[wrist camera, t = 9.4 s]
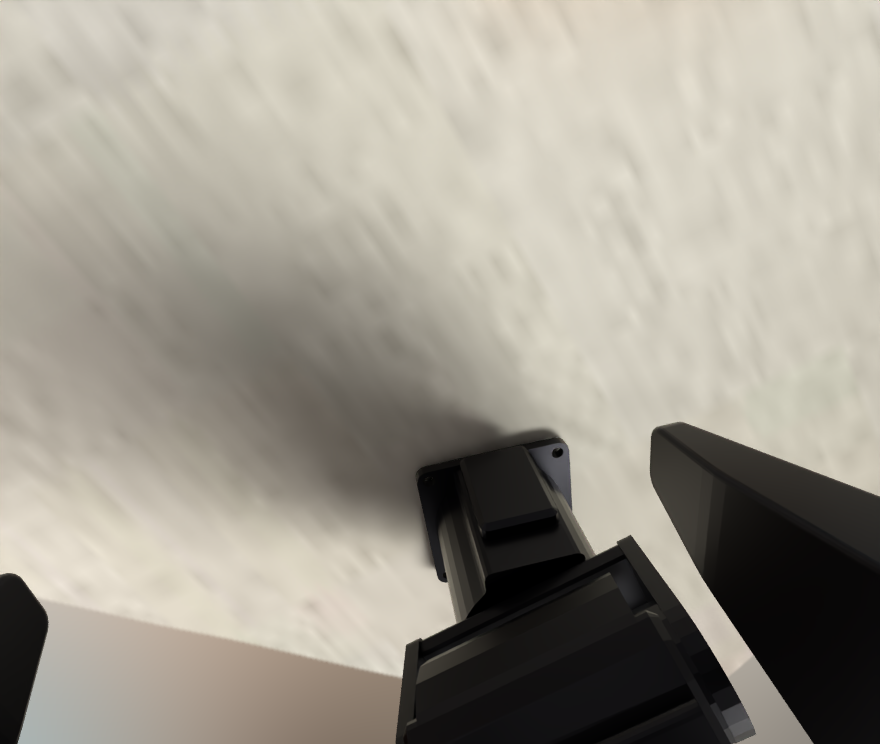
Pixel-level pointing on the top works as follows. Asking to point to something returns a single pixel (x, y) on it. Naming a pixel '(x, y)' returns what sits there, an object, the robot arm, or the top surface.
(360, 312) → the top surface
